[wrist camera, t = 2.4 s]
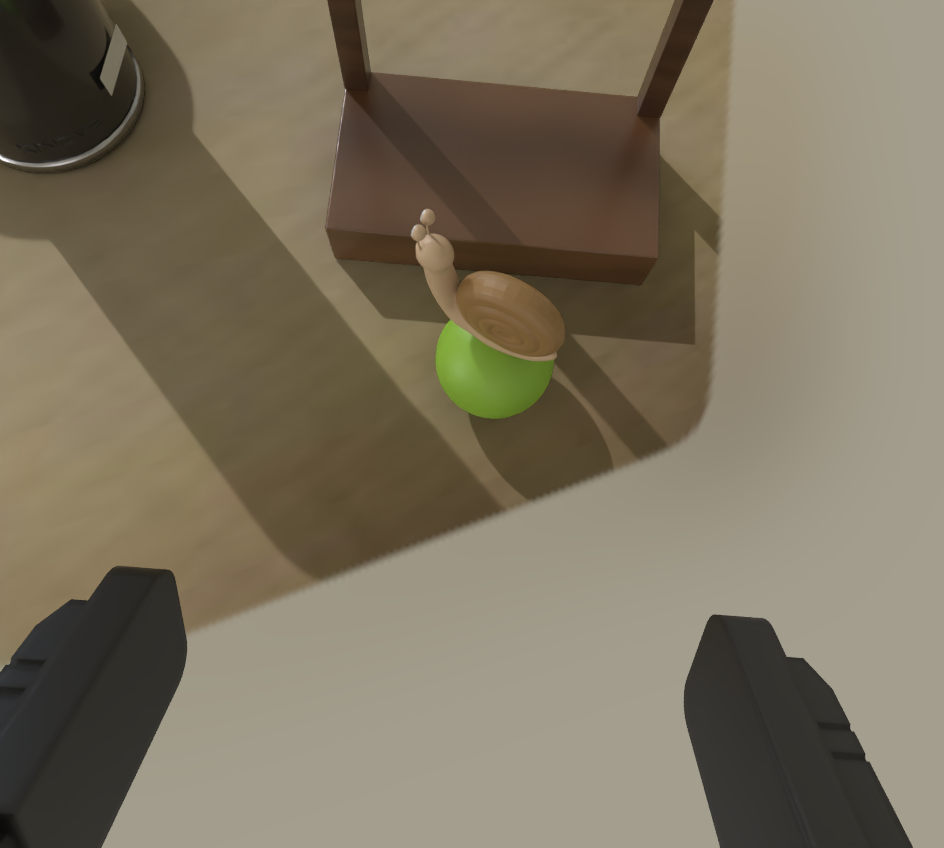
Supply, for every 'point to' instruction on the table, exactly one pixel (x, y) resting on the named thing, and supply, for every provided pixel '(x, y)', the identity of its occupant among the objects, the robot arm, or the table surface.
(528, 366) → the snail figurine
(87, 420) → the table surface
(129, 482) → the table surface
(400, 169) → the shelf unit
